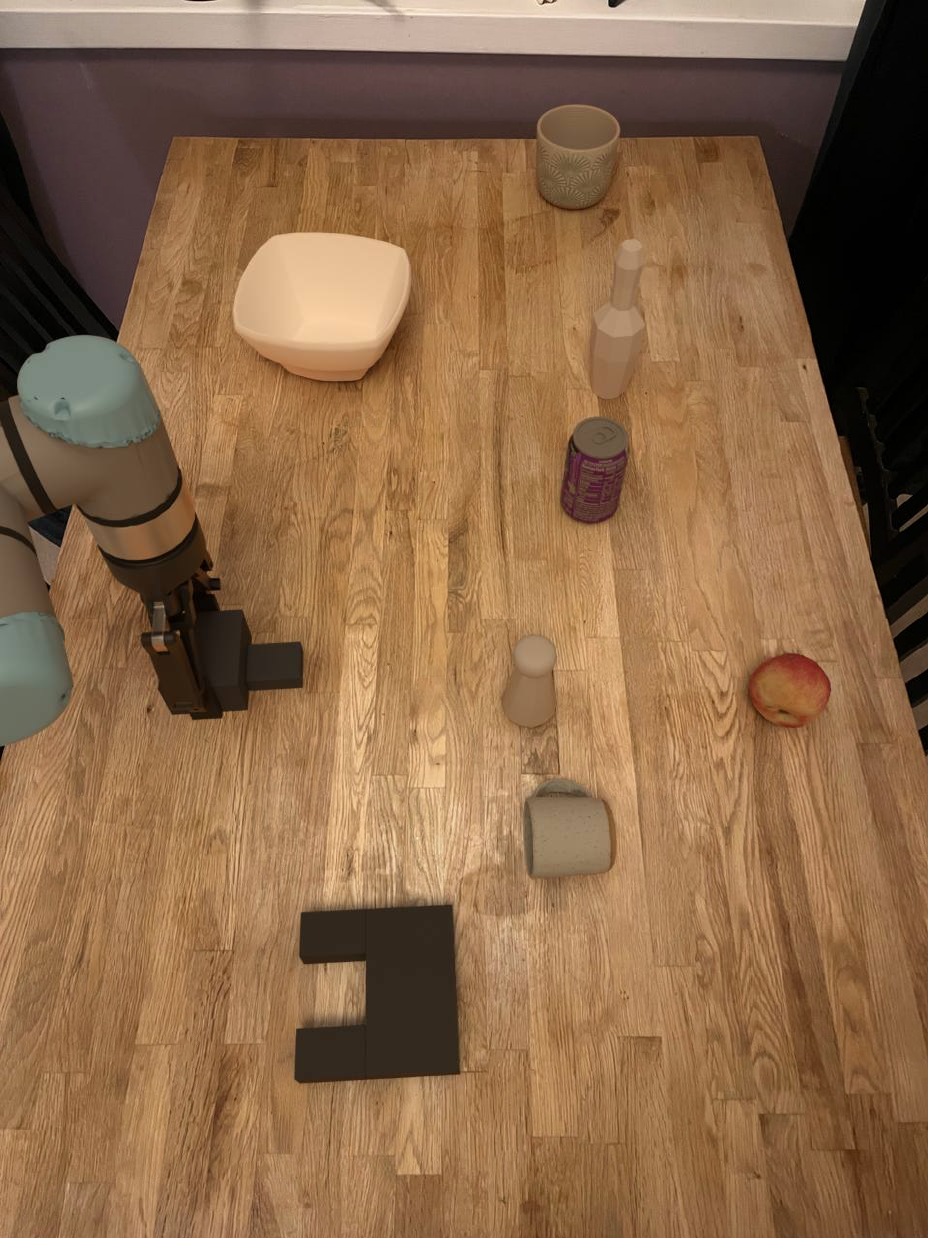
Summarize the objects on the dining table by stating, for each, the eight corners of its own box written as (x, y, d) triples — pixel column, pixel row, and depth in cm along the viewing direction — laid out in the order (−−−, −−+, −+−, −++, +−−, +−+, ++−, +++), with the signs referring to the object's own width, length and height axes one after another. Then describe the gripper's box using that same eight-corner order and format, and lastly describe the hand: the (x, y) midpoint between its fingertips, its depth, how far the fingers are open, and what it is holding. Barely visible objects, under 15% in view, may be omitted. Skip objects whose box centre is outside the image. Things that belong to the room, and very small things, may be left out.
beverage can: (589, 473, 120) (601, 403, 110) (629, 507, 117) (645, 439, 107) (548, 501, 118) (555, 432, 108) (587, 536, 115) (599, 469, 105)
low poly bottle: (575, 379, 129) (593, 237, 111) (615, 364, 131) (640, 222, 112) (599, 409, 126) (623, 269, 108) (640, 394, 128) (670, 252, 109)
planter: (573, 161, 156) (579, 94, 147) (627, 196, 151) (637, 129, 142) (516, 190, 152) (519, 123, 143) (570, 227, 147) (577, 161, 138)
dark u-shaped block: (299, 1084, 83) (294, 1079, 81) (305, 921, 91) (300, 912, 88) (459, 1074, 83) (459, 1070, 81) (452, 913, 91) (452, 904, 88)
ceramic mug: (612, 883, 92) (623, 856, 86) (528, 890, 92) (533, 863, 86) (595, 782, 98) (604, 749, 92) (516, 788, 98) (519, 755, 91)
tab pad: (171, 715, 88) (157, 689, 84) (179, 641, 93) (166, 613, 88) (302, 707, 89) (294, 681, 85) (304, 634, 93) (296, 605, 89)
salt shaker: (545, 742, 100) (555, 683, 90) (493, 726, 101) (497, 666, 91) (560, 696, 103) (572, 633, 92) (510, 681, 104) (515, 617, 93)
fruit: (727, 703, 103) (746, 667, 96) (774, 663, 106) (795, 625, 99) (783, 754, 100) (807, 720, 93) (830, 712, 102) (856, 675, 96)
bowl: (396, 423, 125) (390, 354, 115) (232, 403, 127) (213, 334, 117) (426, 310, 137) (423, 240, 127) (276, 294, 139) (262, 223, 129)
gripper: (111, 424, 77) (180, 585, 96) (73, 647, 65) (159, 779, 85) (206, 419, 77) (256, 581, 96) (184, 640, 66) (245, 774, 85)
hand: (211, 674), depth 90 cm, fingers closed on tab pad, 8 cm apart
